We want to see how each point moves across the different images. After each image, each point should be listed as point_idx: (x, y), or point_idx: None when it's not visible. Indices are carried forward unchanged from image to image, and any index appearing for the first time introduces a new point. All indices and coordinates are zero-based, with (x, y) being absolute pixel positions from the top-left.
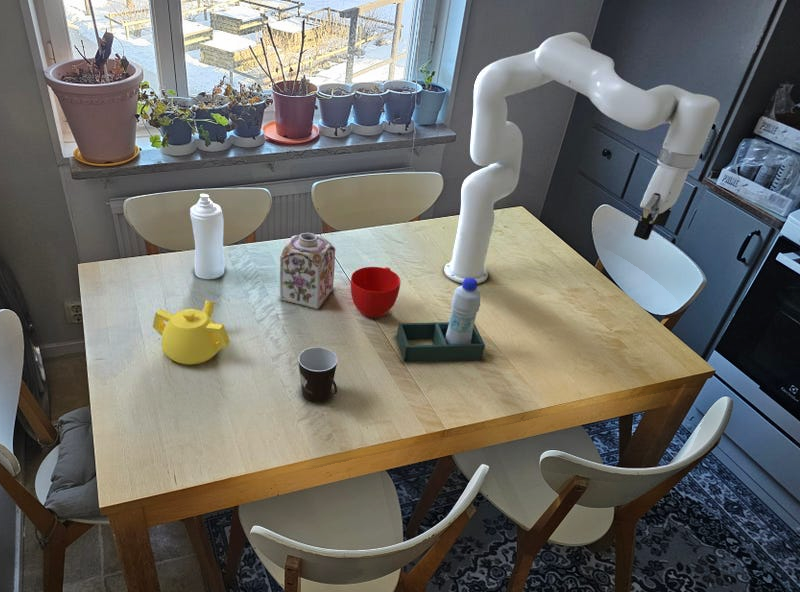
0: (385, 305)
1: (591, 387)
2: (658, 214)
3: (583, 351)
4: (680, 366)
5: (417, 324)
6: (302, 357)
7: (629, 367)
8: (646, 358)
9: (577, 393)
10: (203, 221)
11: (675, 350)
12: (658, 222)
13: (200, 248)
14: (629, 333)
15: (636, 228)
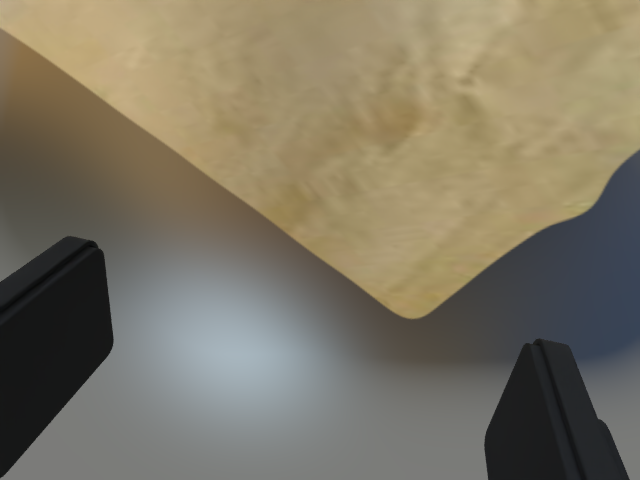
0: None
1: (146, 115)
2: (533, 477)
3: (283, 42)
4: (387, 282)
5: None
6: None
7: (297, 177)
8: (369, 207)
9: (98, 92)
10: None
11: (459, 265)
12: (507, 418)
13: None
14: (479, 140)
15: (14, 279)
